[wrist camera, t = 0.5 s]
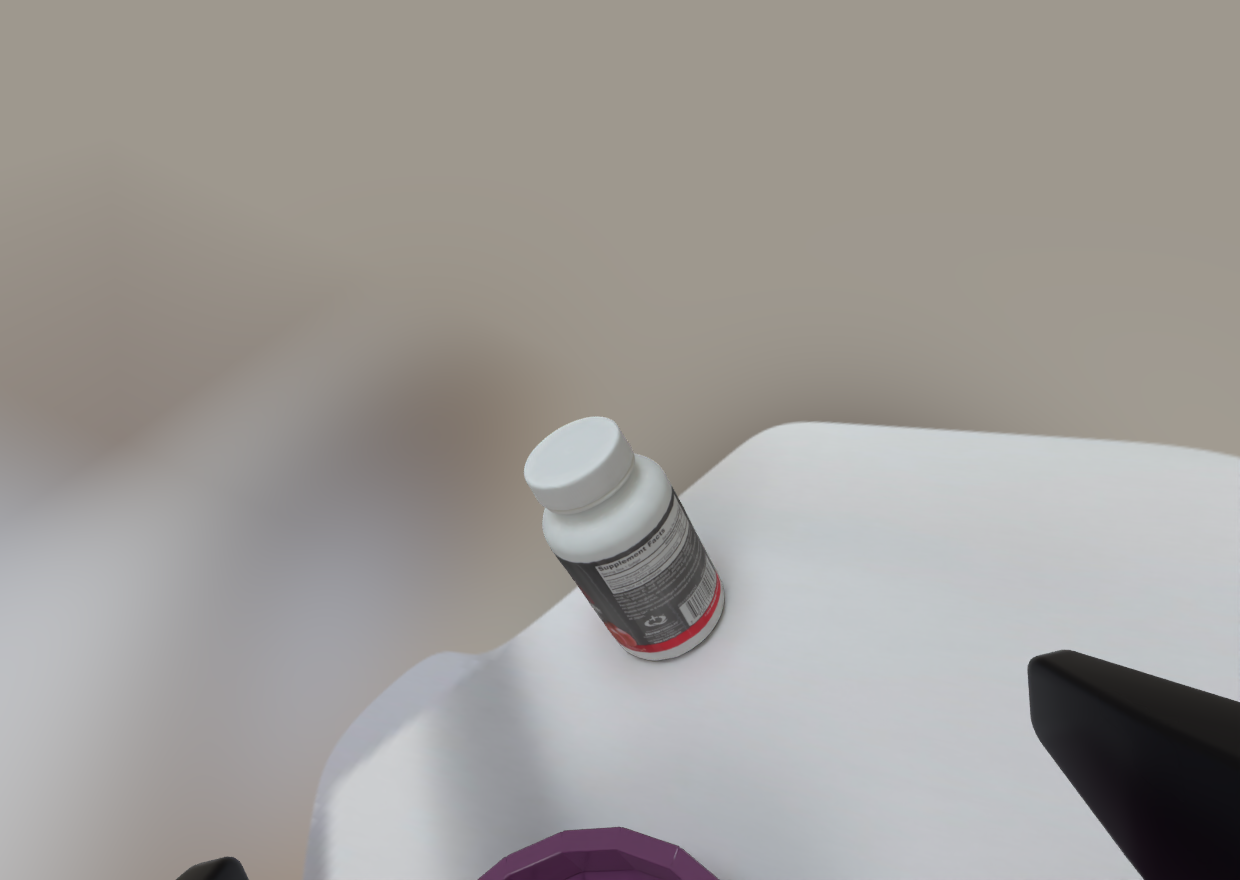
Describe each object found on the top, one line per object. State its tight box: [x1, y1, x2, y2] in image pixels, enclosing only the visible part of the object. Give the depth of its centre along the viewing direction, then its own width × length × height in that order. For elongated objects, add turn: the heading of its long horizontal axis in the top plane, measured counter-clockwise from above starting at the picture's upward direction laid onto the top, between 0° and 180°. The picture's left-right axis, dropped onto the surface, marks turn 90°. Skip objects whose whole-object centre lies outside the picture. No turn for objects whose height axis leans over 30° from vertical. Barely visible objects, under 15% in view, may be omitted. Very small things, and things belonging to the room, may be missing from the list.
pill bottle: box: [524, 416, 724, 660], centre depth 26 cm, size 5×5×10 cm
